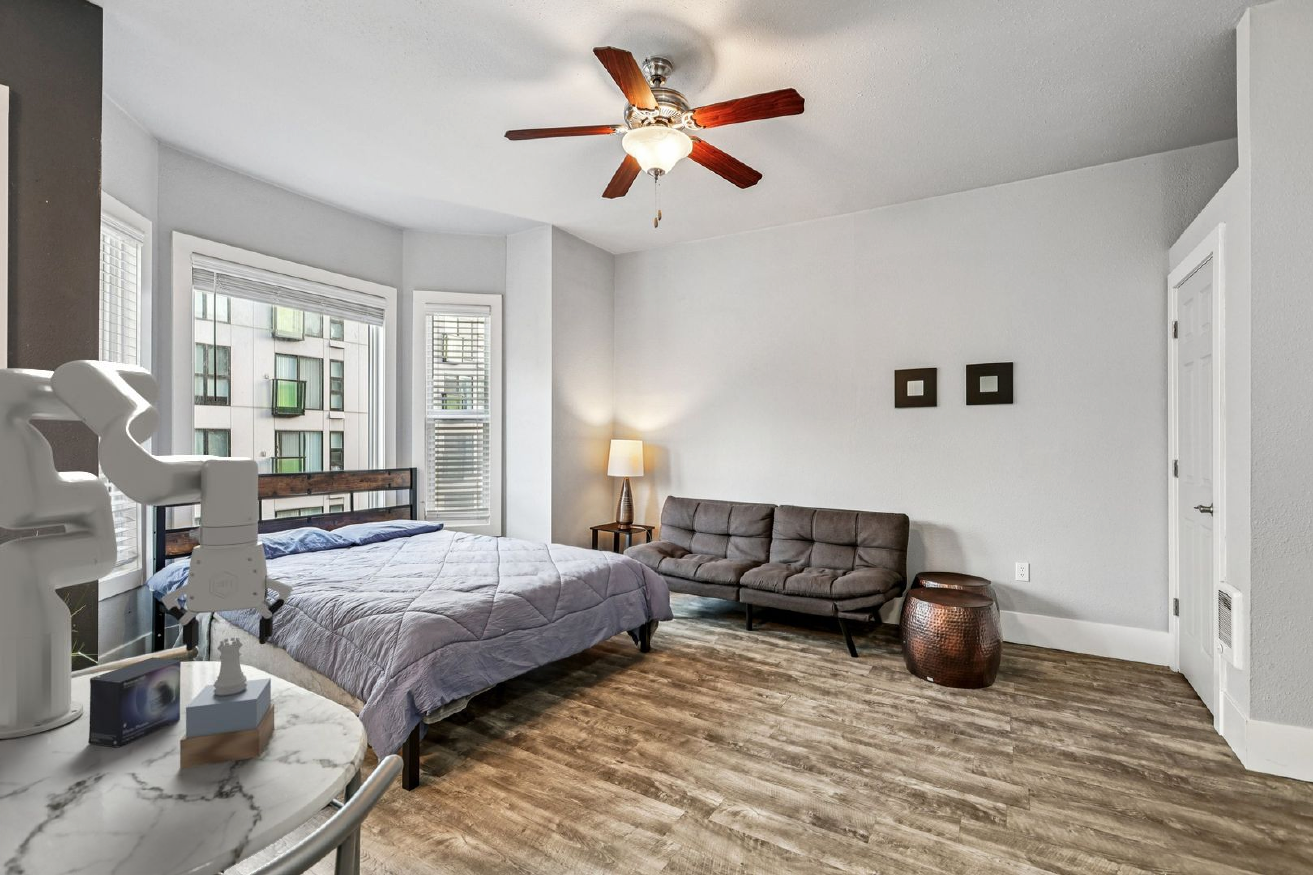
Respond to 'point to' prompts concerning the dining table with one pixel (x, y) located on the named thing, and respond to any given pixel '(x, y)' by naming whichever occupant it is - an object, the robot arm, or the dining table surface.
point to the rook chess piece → (230, 669)
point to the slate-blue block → (228, 709)
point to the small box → (134, 701)
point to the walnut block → (226, 744)
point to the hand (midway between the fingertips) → (228, 644)
